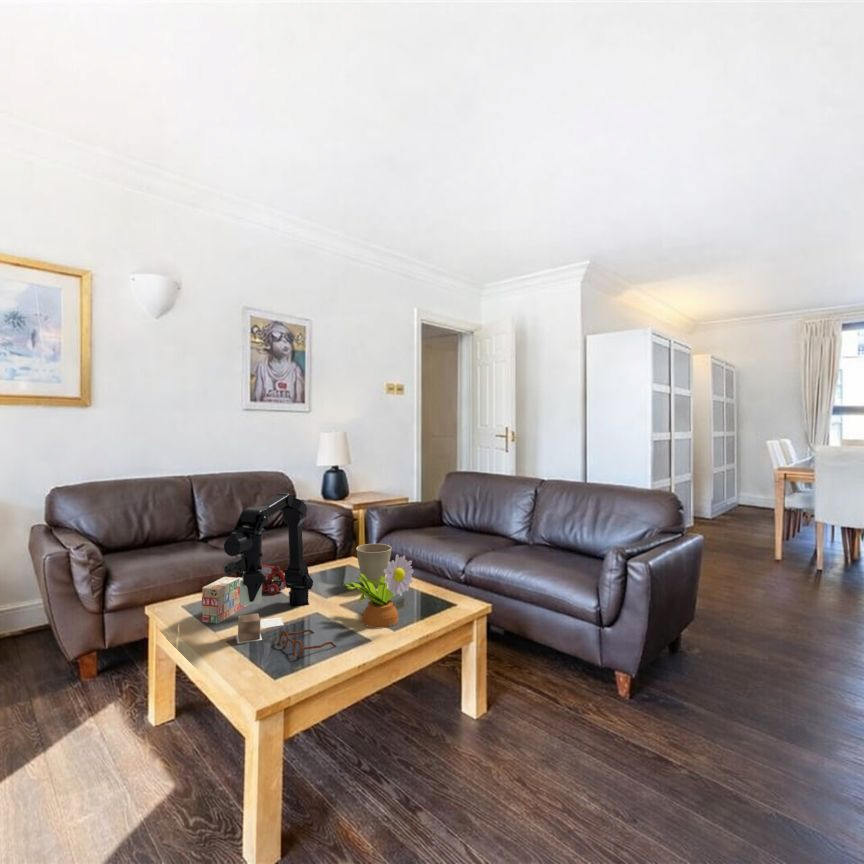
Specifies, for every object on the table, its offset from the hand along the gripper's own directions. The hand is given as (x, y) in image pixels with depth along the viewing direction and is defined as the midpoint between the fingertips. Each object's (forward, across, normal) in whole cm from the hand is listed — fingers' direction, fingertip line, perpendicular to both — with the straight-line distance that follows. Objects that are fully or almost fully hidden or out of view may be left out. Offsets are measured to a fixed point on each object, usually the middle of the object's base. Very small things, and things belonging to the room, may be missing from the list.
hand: (250, 598), depth 156 cm
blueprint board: (+12, -3, +3) cm, 13 cm away
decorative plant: (+12, 0, +44) cm, 46 cm away
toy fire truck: (+12, -42, +12) cm, 45 cm away
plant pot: (+11, -35, +53) cm, 65 cm away
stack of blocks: (+13, -25, -5) cm, 28 cm away
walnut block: (+12, 0, 0) cm, 12 cm away
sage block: (+1, 0, 0) cm, 1 cm away
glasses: (+13, +12, +16) cm, 24 cm away
